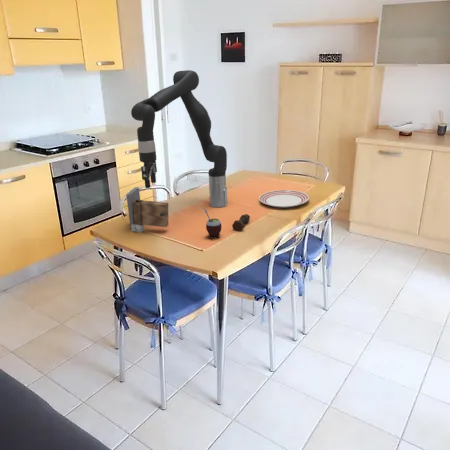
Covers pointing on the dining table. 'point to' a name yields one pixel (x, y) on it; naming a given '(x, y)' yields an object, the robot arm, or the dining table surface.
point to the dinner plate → (284, 198)
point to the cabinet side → (132, 197)
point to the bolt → (241, 222)
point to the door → (150, 213)
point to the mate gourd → (213, 227)
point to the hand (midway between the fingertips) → (150, 185)
